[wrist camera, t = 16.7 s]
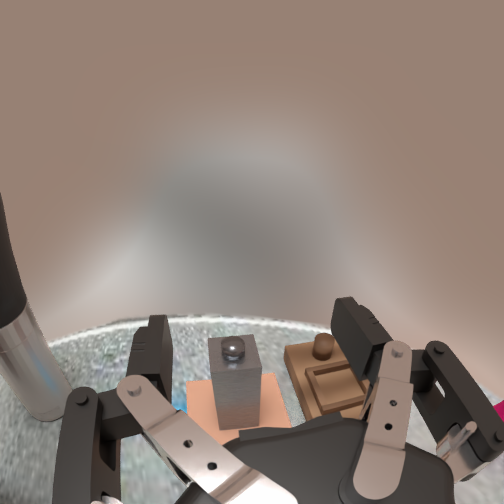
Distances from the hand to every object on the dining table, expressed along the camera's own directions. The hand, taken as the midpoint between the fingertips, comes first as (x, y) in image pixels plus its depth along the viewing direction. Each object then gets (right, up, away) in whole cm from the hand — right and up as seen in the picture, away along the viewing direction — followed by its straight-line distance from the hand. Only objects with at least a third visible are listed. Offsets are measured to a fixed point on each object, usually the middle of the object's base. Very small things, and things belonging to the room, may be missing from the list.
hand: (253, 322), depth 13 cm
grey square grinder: (-2, -18, +21) cm, 27 cm away
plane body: (+12, -18, +23) cm, 32 cm away
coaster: (-2, -19, +21) cm, 28 cm away
